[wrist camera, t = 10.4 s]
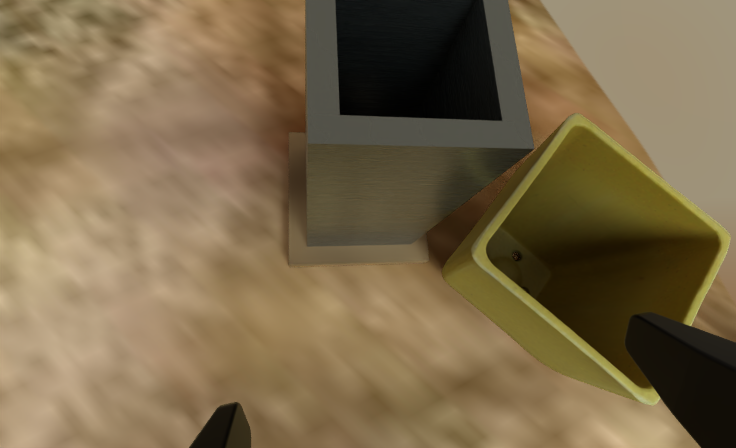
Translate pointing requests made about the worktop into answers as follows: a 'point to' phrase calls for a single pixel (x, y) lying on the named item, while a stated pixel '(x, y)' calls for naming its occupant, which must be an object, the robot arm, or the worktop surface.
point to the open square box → (406, 114)
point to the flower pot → (587, 257)
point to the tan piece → (334, 254)
